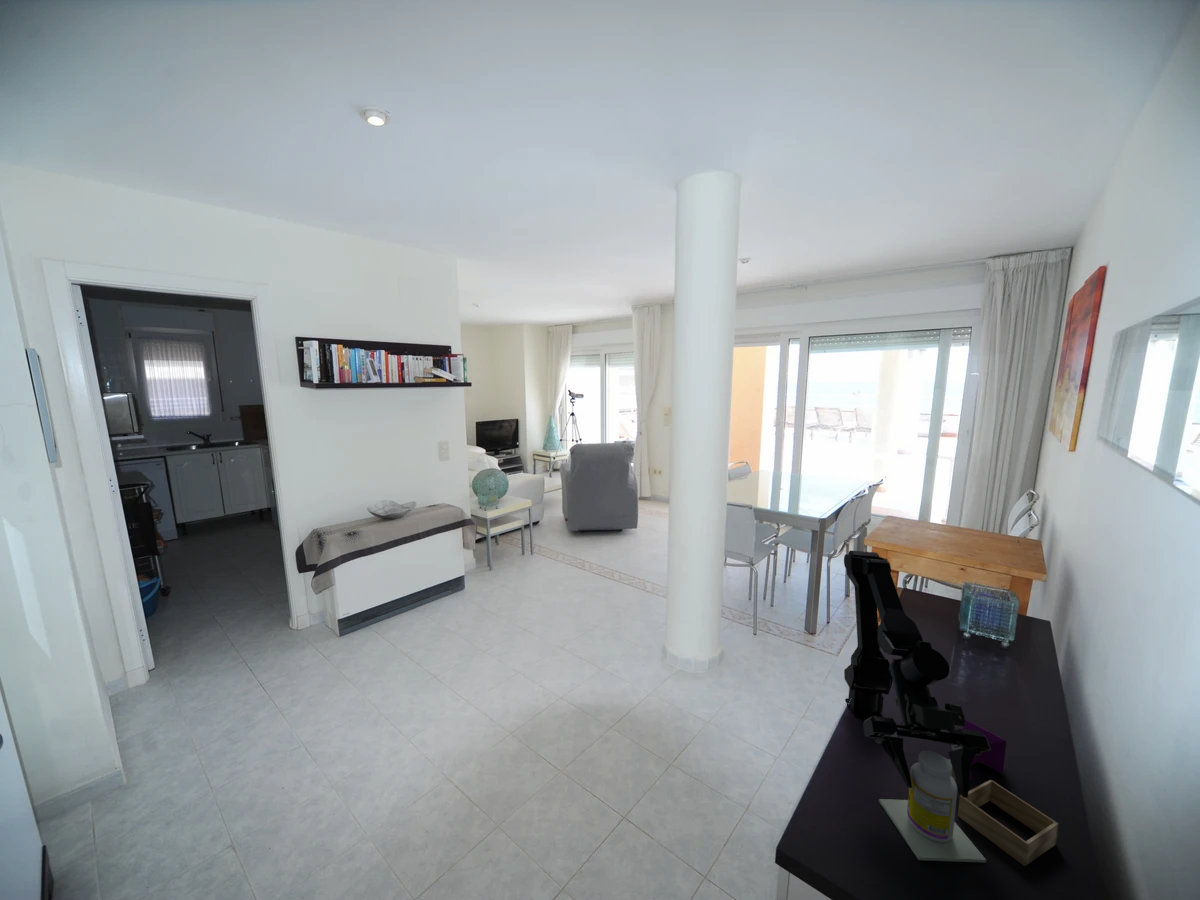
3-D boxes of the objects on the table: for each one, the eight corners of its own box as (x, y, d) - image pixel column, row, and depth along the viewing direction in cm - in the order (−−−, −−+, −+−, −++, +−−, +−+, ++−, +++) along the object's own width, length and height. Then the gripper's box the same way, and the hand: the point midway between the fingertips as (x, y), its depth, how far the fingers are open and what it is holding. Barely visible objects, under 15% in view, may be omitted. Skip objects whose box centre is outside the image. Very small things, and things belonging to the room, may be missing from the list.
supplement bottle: (919, 803, 84) (926, 741, 83) (960, 834, 78) (968, 767, 77) (898, 818, 81) (904, 753, 80) (938, 851, 75) (946, 781, 74)
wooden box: (1024, 866, 73) (1027, 844, 73) (957, 815, 82) (959, 795, 82) (1055, 844, 77) (1058, 823, 77) (988, 798, 86) (990, 779, 86)
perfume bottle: (1009, 768, 94) (968, 805, 85) (966, 744, 100) (924, 776, 91) (1013, 735, 93) (972, 769, 84) (969, 713, 99) (927, 743, 91)
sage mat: (918, 860, 74) (919, 857, 74) (878, 801, 85) (879, 799, 85) (985, 862, 74) (986, 859, 74) (937, 803, 85) (937, 801, 85)
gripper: (873, 675, 83) (894, 778, 73) (990, 690, 79) (1028, 802, 69) (855, 689, 91) (871, 783, 82) (960, 703, 87) (990, 804, 78)
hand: (937, 792), depth 77 cm, fingers open, 8 cm apart
